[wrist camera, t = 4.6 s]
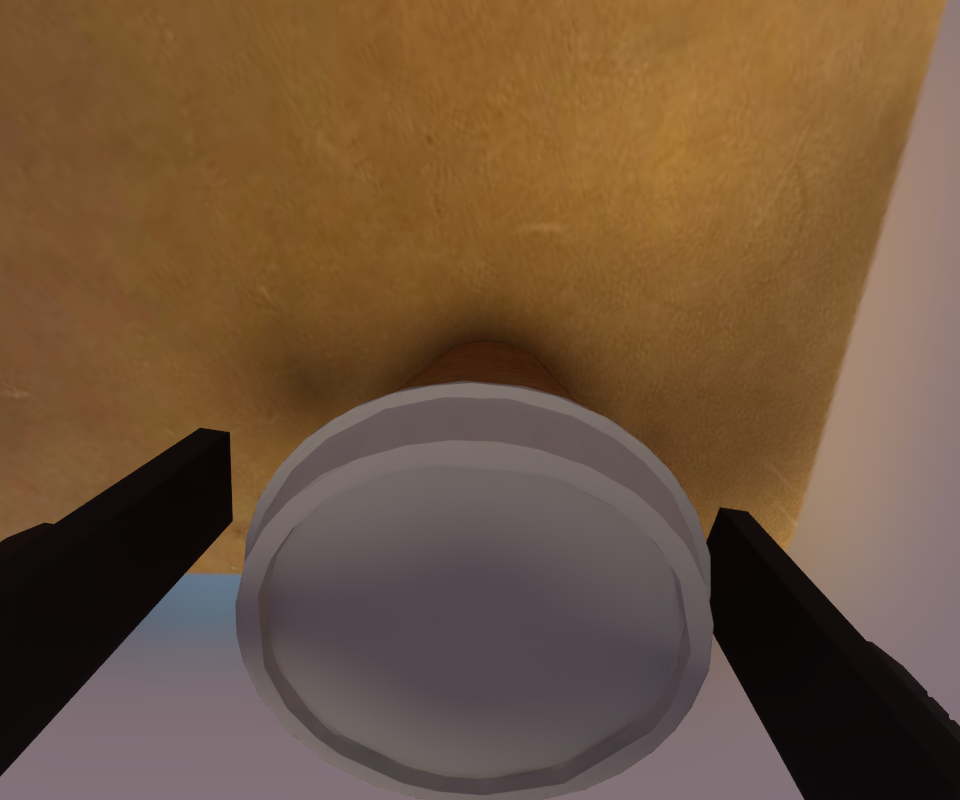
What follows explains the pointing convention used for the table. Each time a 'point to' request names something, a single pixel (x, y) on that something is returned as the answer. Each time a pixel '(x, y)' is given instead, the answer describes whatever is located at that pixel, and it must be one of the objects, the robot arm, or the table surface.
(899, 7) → the table surface
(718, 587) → the robot arm
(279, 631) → the disposable coffee cup
